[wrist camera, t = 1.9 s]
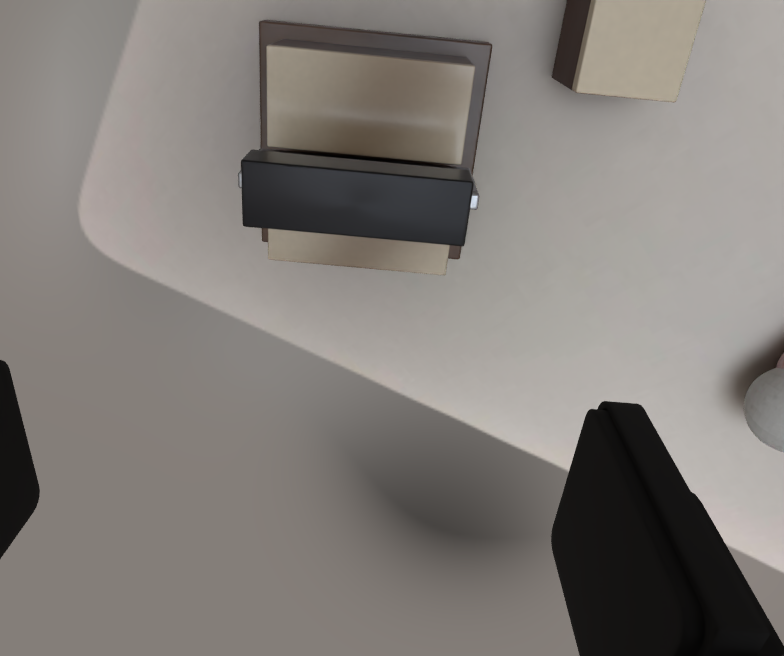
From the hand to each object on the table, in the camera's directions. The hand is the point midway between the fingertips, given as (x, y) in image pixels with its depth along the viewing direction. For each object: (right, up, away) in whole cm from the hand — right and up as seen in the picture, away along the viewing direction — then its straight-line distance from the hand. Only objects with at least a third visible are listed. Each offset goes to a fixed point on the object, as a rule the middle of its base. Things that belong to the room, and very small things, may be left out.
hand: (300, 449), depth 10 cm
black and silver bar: (0, +9, +17) cm, 19 cm away
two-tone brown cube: (+11, +15, +17) cm, 25 cm away
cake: (0, +11, +20) cm, 22 cm away
